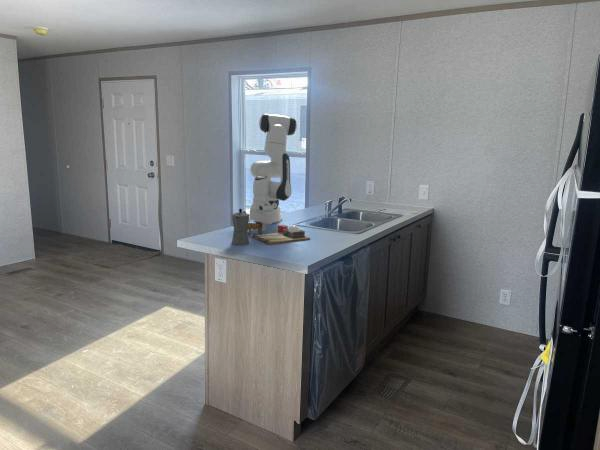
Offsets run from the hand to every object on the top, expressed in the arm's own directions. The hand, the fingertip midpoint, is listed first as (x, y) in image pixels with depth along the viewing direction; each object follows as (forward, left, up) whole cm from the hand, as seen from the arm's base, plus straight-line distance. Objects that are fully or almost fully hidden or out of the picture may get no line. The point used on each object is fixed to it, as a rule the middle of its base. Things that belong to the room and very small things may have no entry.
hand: (260, 229), depth 250 cm
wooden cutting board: (+15, +4, -2) cm, 16 cm away
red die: (+3, +13, -2) cm, 14 cm away
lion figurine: (-1, -3, -3) cm, 4 cm away
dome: (+16, +12, -1) cm, 20 cm away
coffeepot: (+13, -19, -3) cm, 23 cm away
